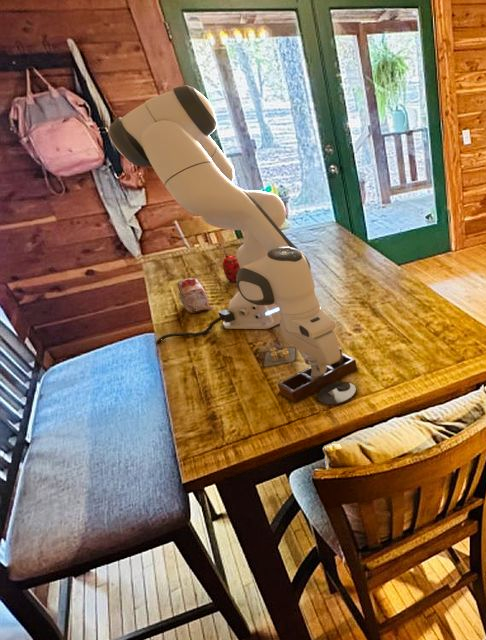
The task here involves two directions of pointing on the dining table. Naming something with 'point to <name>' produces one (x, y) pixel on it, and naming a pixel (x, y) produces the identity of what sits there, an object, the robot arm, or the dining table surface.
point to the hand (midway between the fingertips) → (316, 367)
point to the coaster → (337, 393)
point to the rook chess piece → (314, 367)
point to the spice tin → (339, 360)
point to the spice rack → (314, 380)
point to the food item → (193, 295)
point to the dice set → (279, 356)
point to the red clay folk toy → (230, 265)
